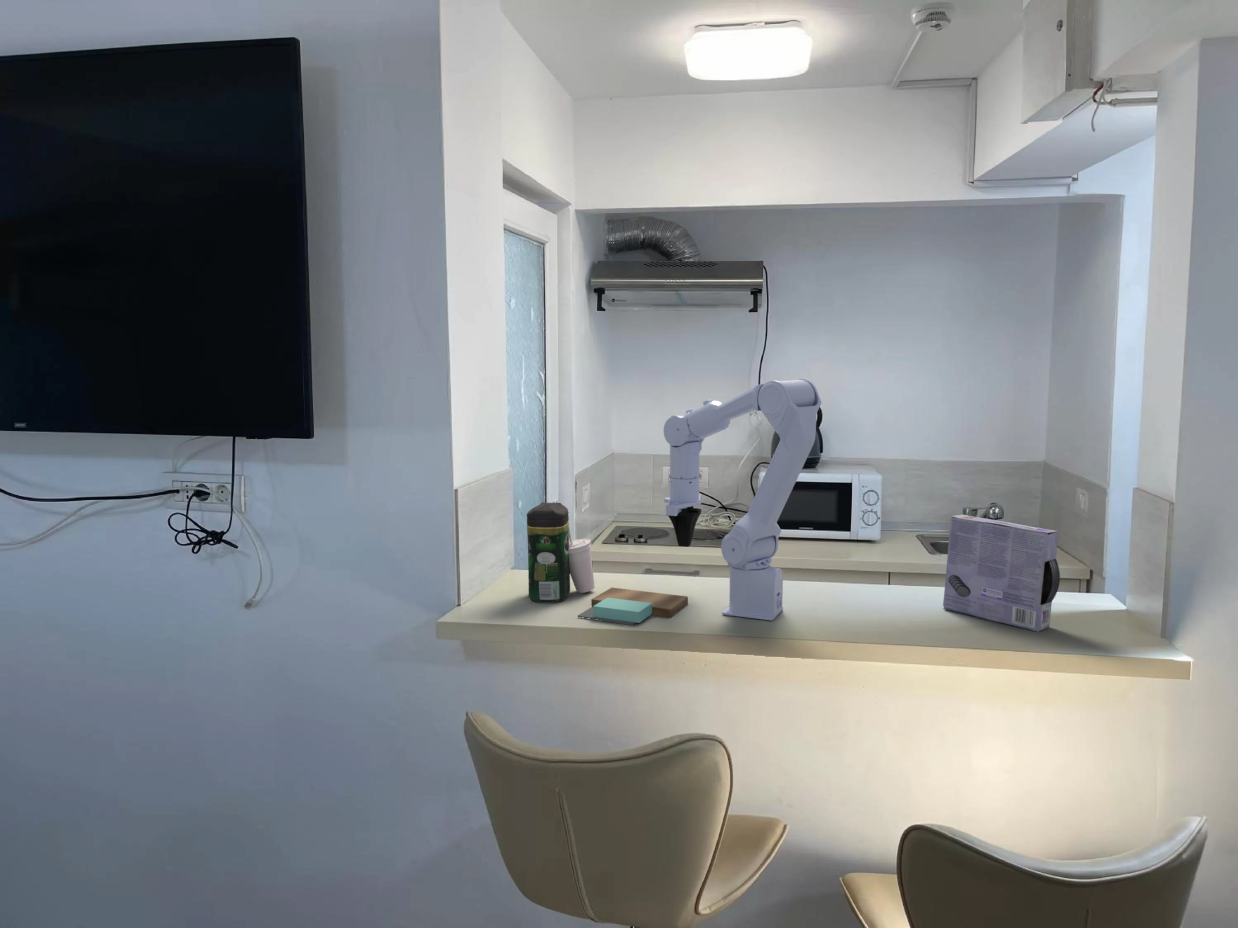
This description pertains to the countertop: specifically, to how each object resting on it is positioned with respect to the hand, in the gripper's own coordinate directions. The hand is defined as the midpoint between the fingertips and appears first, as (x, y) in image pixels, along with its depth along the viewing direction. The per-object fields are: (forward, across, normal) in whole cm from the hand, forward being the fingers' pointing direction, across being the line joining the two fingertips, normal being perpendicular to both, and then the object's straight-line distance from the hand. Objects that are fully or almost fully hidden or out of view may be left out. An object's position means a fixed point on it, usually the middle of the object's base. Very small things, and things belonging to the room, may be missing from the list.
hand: (684, 545), depth 181 cm
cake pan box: (+10, -8, +57) cm, 58 cm away
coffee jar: (+10, +12, -24) cm, 29 cm away
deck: (+10, +10, -5) cm, 15 cm away
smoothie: (+10, +6, -19) cm, 22 cm away
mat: (+10, +18, -7) cm, 22 cm away
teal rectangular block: (+10, +18, -5) cm, 21 cm away
